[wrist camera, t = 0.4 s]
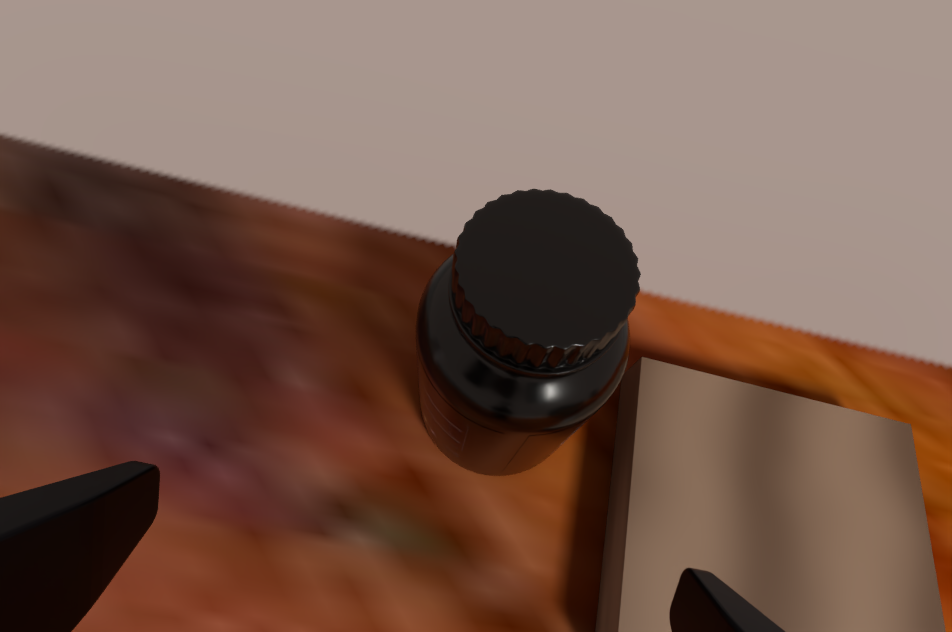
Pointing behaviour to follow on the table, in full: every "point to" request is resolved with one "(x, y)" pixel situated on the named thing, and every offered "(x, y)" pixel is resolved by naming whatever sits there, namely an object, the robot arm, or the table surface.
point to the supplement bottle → (524, 330)
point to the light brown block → (763, 507)
